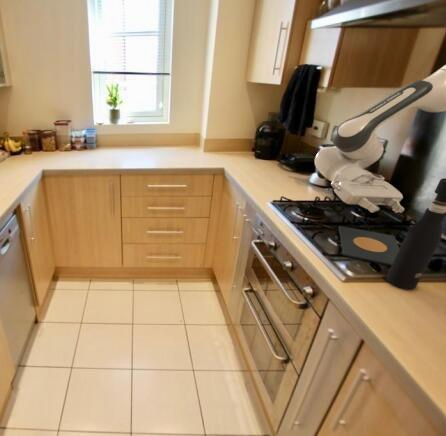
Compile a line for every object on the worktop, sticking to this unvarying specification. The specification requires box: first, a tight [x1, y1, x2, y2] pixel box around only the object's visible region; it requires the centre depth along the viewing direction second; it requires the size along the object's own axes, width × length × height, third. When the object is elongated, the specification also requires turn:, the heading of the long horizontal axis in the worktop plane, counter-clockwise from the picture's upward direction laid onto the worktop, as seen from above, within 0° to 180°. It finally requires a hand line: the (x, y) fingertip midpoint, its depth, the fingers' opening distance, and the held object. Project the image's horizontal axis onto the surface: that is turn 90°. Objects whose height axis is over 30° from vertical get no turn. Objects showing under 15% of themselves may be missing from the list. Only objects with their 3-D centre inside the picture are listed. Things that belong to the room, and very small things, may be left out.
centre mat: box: [338, 225, 400, 267], centre depth 103 cm, size 16×20×1 cm
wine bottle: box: [385, 177, 446, 291], centre depth 80 cm, size 6×6×30 cm
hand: (388, 211), depth 90 cm, fingers open, 8 cm apart
